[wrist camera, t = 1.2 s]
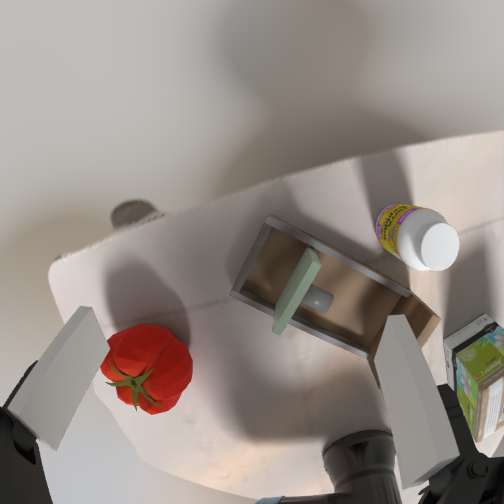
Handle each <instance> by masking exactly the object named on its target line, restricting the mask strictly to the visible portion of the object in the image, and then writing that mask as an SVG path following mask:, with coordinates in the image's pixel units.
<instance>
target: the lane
mask: <svg viewBox="0 0 504 504" xmlns="http://www.w3.org/2000/svg"><path fill="white" fill-rule="evenodd" d="M307 245H308V246H310V247H312V248H314V249H315V251H316V254H317V256H318V258H319V261H320V263H321V265H322V266H321V267H320V269H319V271H318V273H317V274H316V276H315V278H314V280H313V281H312V283H311V284H313V285H315V286H317V287H319V288H321V289H323V290H325V291H327V292H329V293H331V294H333V295H334V299H333V302H332V305H331V306H330V308H329V310H328V311H327V312H326V313H323V312H321V311H319V310H317V309H315V308H313V307H311V306H309V305H307V304H305V303H303V302H300V304H299V305H298V307H297V309H296V311H295V312H294V314H293V316H292V317H291V319H290V320H289V322H288V324H290V325H292V326H294V327H296V328H298V329H301V330H303V331H305V332H307V333H309V334H311V335H314V336H316V337H318V338H320V339H323V340H325V341H327V342H329V343H332V344H334V345H336V346H338V347H341V348H343V349H345V350H348V351H350V352H352V353H354V354H357V355H359V356H362V357H364V358H366V359H367V360H368V362H369V365H370V367H371V370H372V372H373V375H374V377H375V380H376V383H377V385H378V388H379V389H381V385H380V381H379V377H378V374H377V370H376V366H375V363H374V358H375V355H376V352H377V349H378V346H379V343H380V340H381V337H382V334H383V331H384V328H385V325H386V321H387V318H388V316H389V315H403V314H404V315H405V317H406V319H407V321H408V323H409V325H410V327H411V329H412V331H413V333H414V336H415V338H416V340H417V342H418V344H419V346H420V349H421V348H422V347H423V346H424V344H425V343H426V341H427V340H428V338H429V337H430V336H431V334H432V333H433V331H434V330H435V328H436V327H437V325H438V323H439V322H440V320H441V319H440V318H439V317H438V316H437V315H436V314H435V313H434V312H433V311H432V310H431V309H430V308H429V307H428V306H427V305H426V304H425V303H424V302H423V301H422V300H421V299H420V298H418V297H417V296H416V295H415V294H414V293H413V292H412V291H411V290H409V289H407V288H406V287H404V286H402V285H401V284H399V283H397V282H395V281H394V280H392V279H390V278H388V277H386V276H385V275H383V274H381V273H379V272H378V271H376V270H374V269H372V268H370V267H369V266H367V265H365V264H363V263H361V262H359V261H358V260H356V259H354V258H352V257H350V256H348V255H347V254H345V253H343V252H341V251H339V250H337V249H335V248H334V247H332V246H330V245H328V244H326V243H324V242H322V241H320V240H318V239H317V238H315V237H313V236H311V235H309V234H307V233H305V232H303V231H301V230H299V229H297V228H295V227H293V226H291V225H289V224H287V223H285V222H284V221H282V220H280V219H278V218H276V217H274V216H272V215H270V214H269V216H268V217H267V219H266V221H265V223H264V225H263V227H262V229H261V231H260V233H259V235H258V237H257V239H256V242H255V244H254V246H253V248H252V250H251V252H250V254H249V256H248V258H247V260H246V262H245V264H244V266H243V268H242V270H241V272H240V274H239V276H238V278H237V280H236V282H235V284H234V286H233V288H232V290H231V292H230V294H229V295H230V296H232V297H234V298H236V299H238V300H240V301H242V302H244V303H246V304H248V305H250V306H252V307H254V308H256V309H258V310H261V311H263V312H265V313H267V314H269V315H271V316H273V317H274V313H275V305H276V302H277V300H278V298H279V297H280V295H281V293H282V291H283V289H284V288H285V286H286V284H287V282H288V280H289V279H290V277H291V275H292V273H293V271H294V270H295V268H296V266H297V264H298V262H299V260H300V258H301V257H302V255H303V253H304V251H305V249H306V247H307ZM381 390H382V389H381Z"/></svg>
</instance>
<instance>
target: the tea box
mask: <svg viewBox="0 0 504 504" xmlns="http://www.w3.org/2000/svg"><path fill="white" fill-rule="evenodd" d="M444 349H445V356H446V366H447V377H448V385H449V386H450V387H451V388H452V389H453V390H454V392H455V393H456V395H457V397H458V400H459V402H460V406H461V407H462V410H463V413H464V414H463V415H465V418H466V421H467V423H468V426H469V429H470V432H471V435H472V436H473V438H474V440H475V442H476V443H478V442H480V441H481V440H483V439H485V438H486V437H488V436H489V435H491V434H492V433H493V432H495V431H496V430H498V429H499V428H501V427H502V426H503V425H504V329H503V328H502V327H501V326H500V325H498V324H497V323H496V322H495V321H494V320H493V319H491V318H490V317H489V316H488V315H487V314H483V315H482V316H480V317H479V318H477V319H476V320H474V321H473V322H471V323H470V324H468V325H466V326H465V327H463V328H462V329H460V330H459V331H457V332H455V333H454V334H452V335H450V336H449V337H447V338H446V339H444Z"/></svg>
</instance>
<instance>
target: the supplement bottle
mask: <svg viewBox="0 0 504 504" xmlns="http://www.w3.org/2000/svg"><path fill="white" fill-rule="evenodd" d="M376 235H377V238H378V241H379V243H380V244H381V245H382V246H383V247H384V248H385V249H386V250H387V251H389V252H390V253H391V254H393V255H394V256H396V257H397V258H398V259H400V260H401V261H403V262H404V263H405V264H407V265H408V266H410V267H411V268H413V269H415V270H419V271H427V270H434V271H442V270H445V269H446V268H448V267H449V266H451V265H452V263H453V262H454V261H455V259H456V257H457V255H458V251H459V238H458V235H457V232H456V231H455V229H454V228H453V227H452V226H451V225H449V224H448V223H447V221H446V220H445V218H444V217H443V216H442V215H441V214H439V213H438V212H436V211H434V210H431V209H427V208H422V207H417V206H411V205H406V204H392V205H389V206H388V207H386V208H385V209H384V210H383V211H382V212H381V213H380V215H379V217H378V219H377V222H376Z"/></svg>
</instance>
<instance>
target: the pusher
mask: <svg viewBox="0 0 504 504" xmlns="http://www.w3.org/2000/svg"><path fill="white" fill-rule="evenodd" d="M321 266H322V265H321V263H320V261H319V258H318V256H317V254H316V251H315V249H314V248H312V247H310V246H308V245H307V247H306V249H305V251H304V253H303V255H302V257H301V258H300V260H299V262H298V264H297V266H296V268H295V270H294V271H293V273H292V275H291V277H290V279H289V280H288V282H287V284H286V286H285V288H284V289H283V291H282V293H281V295H280V297H279V298H278V300H277V302H276V305H275V313H274V321H273V329H272V332H274V333H276V334H278V335H281V333H282V332H283V330H284V329H285V327H286V325H287V324H288V322H289V320H290V319H291V317H292V316H293V314H294V312H295V311H296V309H297V307H298V305H299V304H300V302H303V303H305V304H307V305H309V306H311V307H313V308H315V309H317V310H319V311H321V312H323V313H326V312H327V311H328V310H329V308H330V306H331V305H332V302H333V299H334V295H333V294H331V293H329V292H327V291H325V290H323V289H321V288H319V287H317V286H315V285H313V284H311V283H312V281H313V280H314V278H315V276H316V274H317V273H318V271H319V269H320V267H321Z"/></svg>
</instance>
